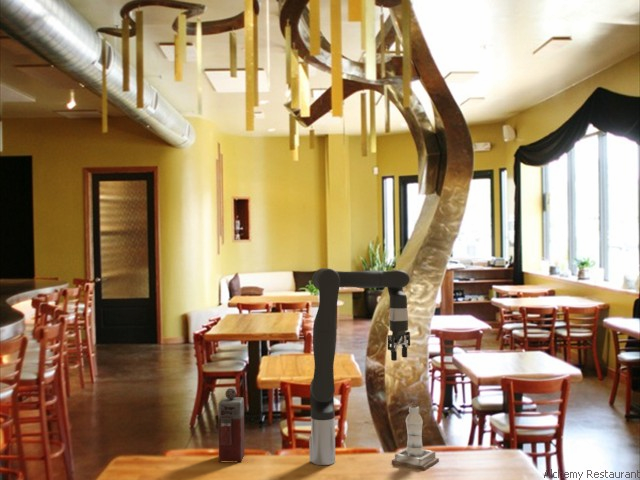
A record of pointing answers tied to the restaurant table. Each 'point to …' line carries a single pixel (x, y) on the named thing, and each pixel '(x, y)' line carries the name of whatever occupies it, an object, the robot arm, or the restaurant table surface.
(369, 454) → the restaurant table surface
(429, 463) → the socket board
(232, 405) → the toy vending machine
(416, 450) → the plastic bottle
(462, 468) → the restaurant table surface
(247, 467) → the restaurant table surface
